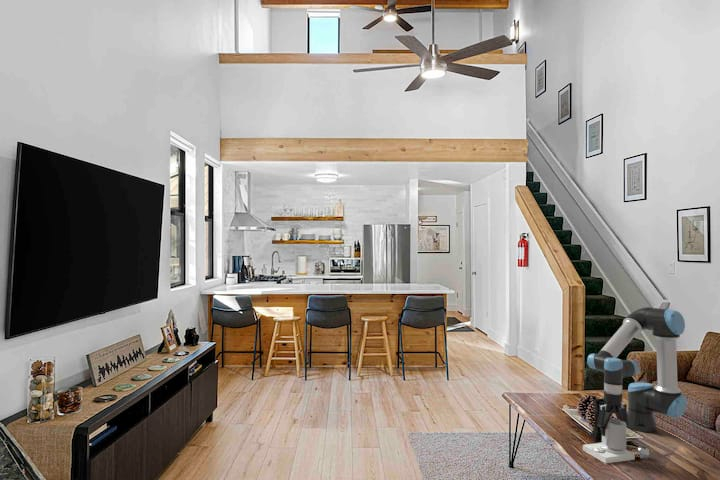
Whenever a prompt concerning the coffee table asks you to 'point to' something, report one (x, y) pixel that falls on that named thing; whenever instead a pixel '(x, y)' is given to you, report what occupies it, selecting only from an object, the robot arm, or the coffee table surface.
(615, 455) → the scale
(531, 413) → the coffee table surface
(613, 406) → the robot arm
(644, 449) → the spacer
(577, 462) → the coffee table surface
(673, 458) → the coffee table surface
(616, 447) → the mug
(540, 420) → the coffee table surface
